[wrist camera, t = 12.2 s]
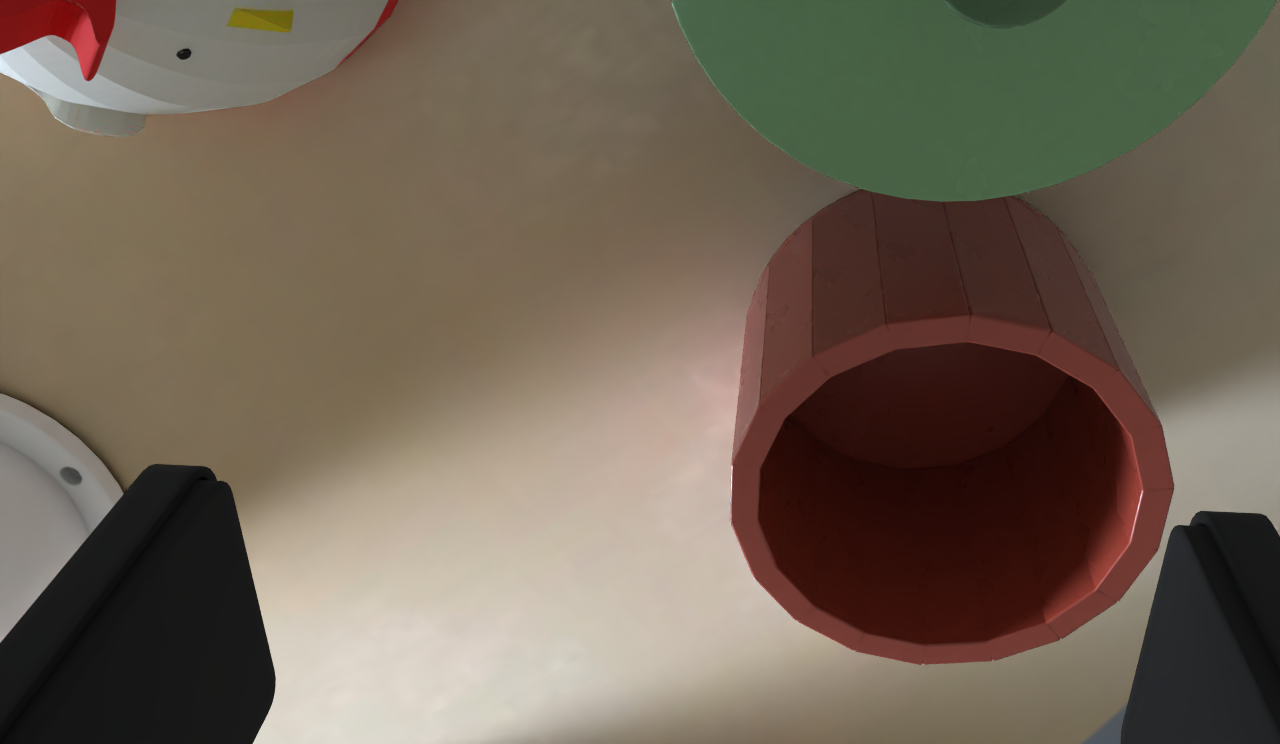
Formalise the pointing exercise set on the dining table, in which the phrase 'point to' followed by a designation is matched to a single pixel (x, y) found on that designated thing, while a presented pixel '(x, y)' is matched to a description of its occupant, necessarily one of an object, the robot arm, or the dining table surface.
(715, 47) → the lid
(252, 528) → the dining table surface
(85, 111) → the kitchen timer
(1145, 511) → the tin
